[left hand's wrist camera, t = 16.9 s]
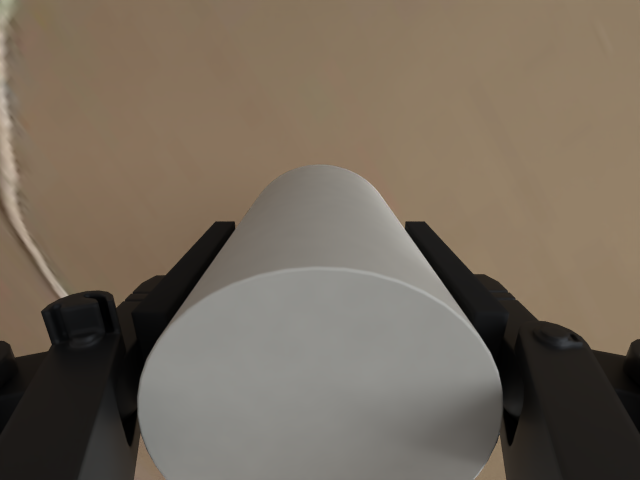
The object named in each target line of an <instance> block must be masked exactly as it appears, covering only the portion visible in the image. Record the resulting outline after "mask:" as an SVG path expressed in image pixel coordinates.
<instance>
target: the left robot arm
mask: <svg viewBox="0 0 640 480" xmlns="http://www.w3.org/2000/svg"><path fill="white" fill-rule="evenodd" d="M234 230H235V222H215V223H214V224H213V225H212V226H211V227H210V228H209V229H208V230H207V231H206V232H205V234H204V235H203V236H202V237H201V238H200V239H199V240H198V241H197V242H196V243H195V244H194V245H193V246H192V248H191V249H190V250H189V251H188V252H187V253H186V254H185V255H184V256H183V257H182V258H181V259H180V261H179V262H178V263H177V264H176V265H175V266H174V267H173V268H172V269H171V270H170V271H169V272H168V273H167V275H156V276H154V277H152V278H151V279H149V280H147V281H145V282H143V283H142V284H141V285H140V286H138V287H137V288H136V289H135V290H134V291H133V294H130V295H129V296H128V297H127V298H126V299H125V301H123V302H122V303H121V304H120V305H119V306H118V307H117V308H116V306H115V302H114V298H113V295H112V294H110V293H109V292H105V291H85V292H81V293H76V294H72V295H69V296H66V297H64V298H61V299H58V300H57V301H55V302H53V303H51V304H49V305H48V306H47V307H46V308H44V309H43V310H42V311H41V313H42V316H43V319H44V322H45V325H46V328H47V331H48V334H49V337H50V340H51V343H52V346H51V347H50V349H49V351H47V352H42V353H37V354H31V355H26V356H21V357H16V358H15V357H14V354H13V352H12V349H11V346H10V344H8V343H6V342H5V341H0V480H134V474H135V467H136V460H137V453H138V446H139V439H140V427H139V422H138V417H137V394H138V388H139V382H140V376H141V374H142V371H143V368H144V365H145V362H146V359H147V357H148V356H149V354H150V352H151V350H152V348H153V347H154V345H155V343H156V341H157V340H158V338H159V337H160V336H161V334H162V333H163V331H164V330H165V328H166V327H167V326H168V324H169V323H170V321H171V320H172V318H173V317H174V316H175V314H176V313H177V311H178V310H179V309H180V307H181V306H182V304H183V303H184V301H185V300H186V299H187V297H188V296H189V294H190V293H191V292H192V290H193V289H194V287H195V286H196V284H197V283H198V282H199V280H200V279H201V277H202V276H203V274H204V273H205V272H206V270H207V269H208V267H209V266H210V265H211V263H212V262H213V260H214V259H215V257H216V256H217V255H218V253H219V252H220V250H221V249H222V248H223V246H224V245H225V243H226V242H227V240H228V239H229V238H230V236H231V235H232V233H233V232H234ZM405 230H406V232H407V233H408V235H409V236H410V237H411V239H412V240H413V242H414V243H415V245H416V246H417V247H418V249H419V250H420V252H421V253H422V254H423V256H424V257H425V259H426V260H427V262H428V263H429V264H430V266H431V267H432V269H433V270H434V271H435V273H436V274H437V276H438V277H439V279H440V280H441V281H442V283H443V284H444V286H445V287H446V288H447V290H448V291H449V293H450V294H451V296H452V297H453V298H454V300H455V301H456V303H457V304H458V305H459V307H460V308H461V310H462V311H463V313H464V314H465V315H466V317H467V318H468V320H469V321H470V323H471V324H472V325H473V327H474V328H475V330H476V331H477V332H478V334H479V335H480V337H481V338H482V340H483V342H484V343H485V345H486V346H487V348H488V349H489V351H490V353H491V355H492V357H493V360H494V362H495V364H496V367H497V369H498V372H499V377H500V381H501V385H502V391H503V416H502V424H501V429H500V432H499V435H500V439H501V445H502V452H503V459H504V466H505V473H506V480H640V339H637V340H635V341H634V342H632V343H631V345H630V347H629V350H628V352H627V355H626V356H623V355H617V354H612V353H607V352H601V351H596V350H591V348H590V347H589V345H588V344H587V342H586V341H585V340H584V339H583V338H582V337H581V336H579V335H578V334H576V333H575V332H573V331H572V330H570V329H567V328H565V327H563V326H560V325H557V324H554V323H550V322H546V321H538V320H537V319H536V318H535V317H534V316H533V315H532V314H531V313H530V312H529V311H528V310H527V309H526V308H525V307H524V306H523V305H522V304H521V303H520V302H519V301H518V300H515V297H514V296H513V295H512V294H510V293H508V291H507V290H506V289H505V288H504V287H503V286H502V285H501V284H500V283H499V282H498V281H496V280H494V279H492V278H490V277H488V276H486V275H485V274H473V273H472V272H471V271H470V270H469V269H468V268H467V267H466V266H465V265H464V263H463V262H462V261H461V260H460V259H459V258H458V257H457V256H456V255H455V254H454V253H453V252H452V251H451V249H450V248H449V247H448V246H447V245H446V244H445V243H444V242H443V241H442V240H441V239H440V238H439V237H438V235H437V234H436V233H435V232H434V231H433V230H432V229H431V228H430V227H429V226H428V225H427V224H426V223H425V222H406V223H405ZM498 437H499V436H498ZM497 441H498V439H497ZM496 443H497V442H496Z"/></svg>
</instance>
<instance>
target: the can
mask: <svg viewBox="0 0 640 480" xmlns="http://www.w3.org/2000/svg"><path fill="white" fill-rule="evenodd" d="M502 416H503V391H502V385H501V381H500V377H499V372H498V369H497V367H496V364H495V362H494V360H493V357H492V355H491V353H490V351H489V349H488V348H487V346H486V345H485V343H484V342H483V340H482V338H481V337H480V335H479V334H478V332H477V331H476V330H475V328H474V327H473V325H472V324H471V323H470V321H469V320H468V318H467V317H466V315H465V314H464V313H463V311H462V310H461V308H460V307H459V305H458V304H457V303H456V301H455V300H454V298H453V297H452V296H451V294H450V293H449V291H448V290H447V288H446V287H445V286H444V284H443V283H442V281H441V280H440V279H439V277H438V276H437V274H436V273H435V271H434V270H433V269H432V267H431V266H430V264H429V263H428V262H427V260H426V259H425V257H424V256H423V254H422V253H421V252H420V250H419V249H418V247H417V246H416V245H415V243H414V242H413V240H412V239H411V237H410V236H409V235H408V233H407V232H406V230H405V229H404V227H403V226H402V225H401V223H400V222H399V220H398V219H397V218H396V216H395V215H394V213H393V212H392V210H391V209H390V208H389V206H388V205H387V203H386V202H385V201H384V199H383V198H382V196H381V195H380V193H379V192H378V191H377V190H376V189H375V188H374V187H373V186H372V185H371V184H370V183H369V182H368V181H367V180H366V179H364V178H362V177H361V176H359V175H358V174H356V173H354V172H352V171H350V170H347V169H344V168H341V167H337V166H332V165H319V164H318V165H308V166H303V167H299V168H296V169H293V170H290V171H288V172H286V173H284V174H282V175H281V176H279V177H278V178H276V179H275V180H273V181H272V182H271V183H270V184H269V185H268V186H267V187H266V188H265V189H264V190H263V191H262V193H261V194H260V195H259V196H258V198H257V199H256V201H255V202H254V204H253V205H252V206H251V208H250V209H249V211H248V212H247V213H246V215H245V216H244V218H243V219H242V221H241V222H240V223H239V225H238V226H237V228H236V229H235V230H234V232H233V233H232V235H231V236H230V238H229V239H228V240H227V242H226V243H225V245H224V246H223V248H222V249H221V250H220V252H219V253H218V255H217V256H216V257H215V259H214V260H213V262H212V263H211V265H210V266H209V267H208V269H207V270H206V272H205V273H204V274H203V276H202V277H201V279H200V280H199V282H198V283H197V284H196V286H195V287H194V289H193V290H192V292H191V293H190V294H189V296H188V297H187V299H186V300H185V301H184V303H183V304H182V306H181V307H180V309H179V310H178V311H177V313H176V314H175V316H174V317H173V318H172V320H171V321H170V323H169V324H168V326H167V327H166V328H165V330H164V331H163V333H162V334H161V336H160V337H159V338H158V340H157V341H156V343H155V345H154V347H153V348H152V350H151V352H150V354H149V356H148V357H147V359H146V362H145V365H144V368H143V371H142V374H141V376H140V382H139V388H138V394H137V417H138V422H139V427H140V432H141V436H142V438H143V441H144V444H145V446H146V449H147V451H148V453H149V455H150V457H151V458H152V460H153V462H154V464H155V465H156V467H157V468H158V470H159V471H160V472H161V473H162V475H163V476H164V477H165V479H166V480H474V479H475V478H476V477H477V476H478V474H479V473H480V471H481V470H482V468H483V467H484V465H485V464H486V463H487V461H488V459H489V457H490V455H491V453H492V451H493V449H494V447H495V445H496V442H497V439H498V436H499V432H500V429H501V424H502Z"/></svg>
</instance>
